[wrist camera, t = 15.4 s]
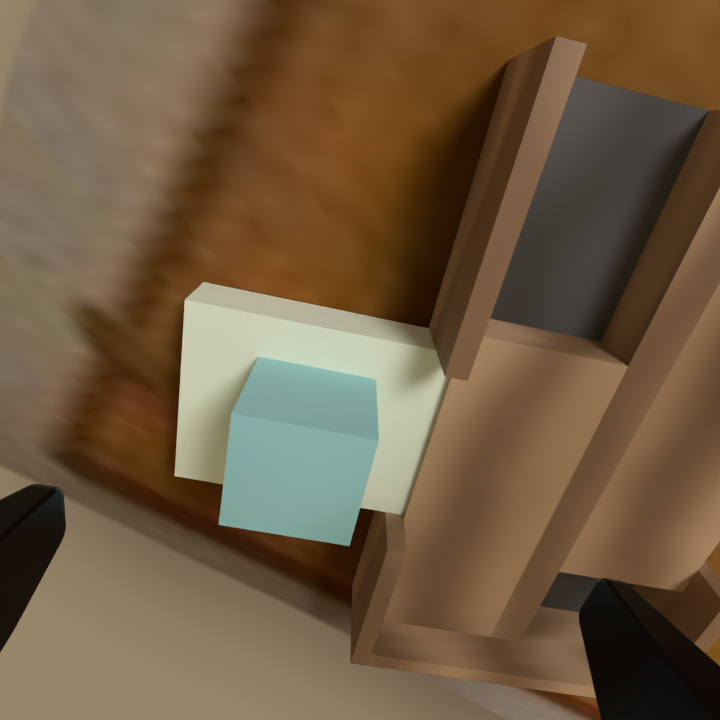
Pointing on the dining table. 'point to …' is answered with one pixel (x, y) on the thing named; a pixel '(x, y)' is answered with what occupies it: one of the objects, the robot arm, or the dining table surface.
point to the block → (300, 452)
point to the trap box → (563, 392)
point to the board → (311, 348)
